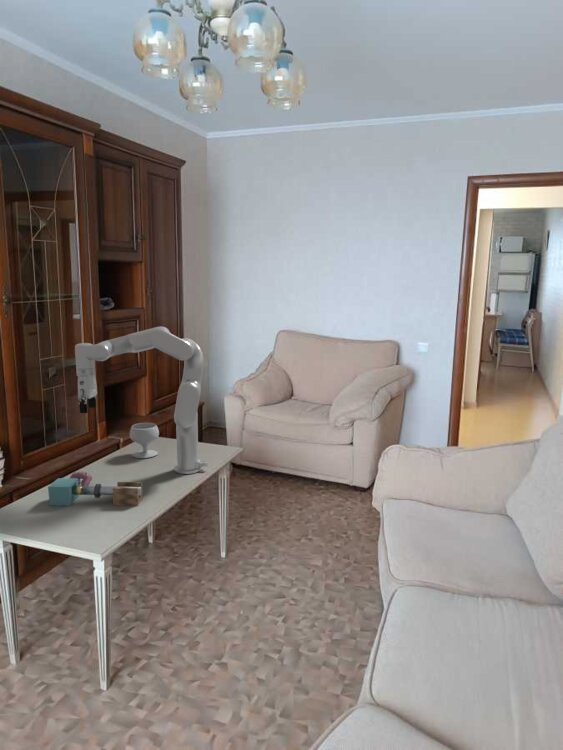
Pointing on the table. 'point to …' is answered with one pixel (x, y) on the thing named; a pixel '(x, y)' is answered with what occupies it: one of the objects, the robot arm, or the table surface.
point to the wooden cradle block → (127, 493)
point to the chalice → (144, 438)
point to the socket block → (63, 491)
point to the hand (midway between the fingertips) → (88, 410)
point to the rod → (98, 490)
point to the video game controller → (84, 476)
